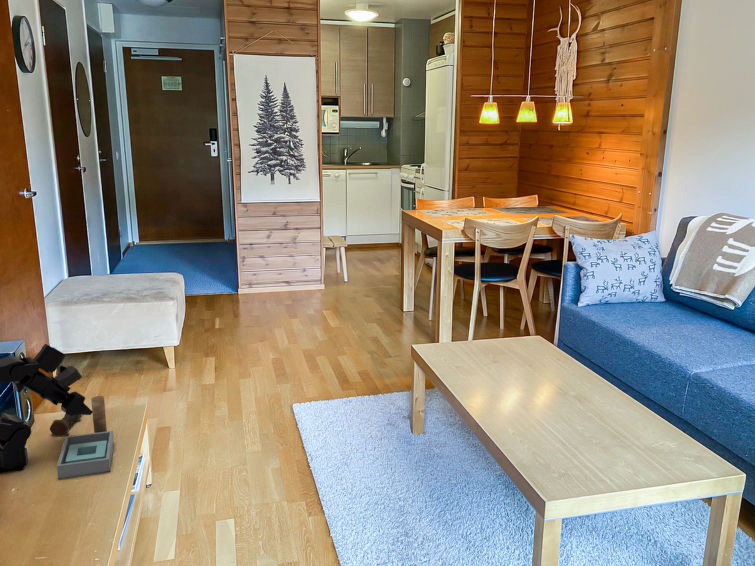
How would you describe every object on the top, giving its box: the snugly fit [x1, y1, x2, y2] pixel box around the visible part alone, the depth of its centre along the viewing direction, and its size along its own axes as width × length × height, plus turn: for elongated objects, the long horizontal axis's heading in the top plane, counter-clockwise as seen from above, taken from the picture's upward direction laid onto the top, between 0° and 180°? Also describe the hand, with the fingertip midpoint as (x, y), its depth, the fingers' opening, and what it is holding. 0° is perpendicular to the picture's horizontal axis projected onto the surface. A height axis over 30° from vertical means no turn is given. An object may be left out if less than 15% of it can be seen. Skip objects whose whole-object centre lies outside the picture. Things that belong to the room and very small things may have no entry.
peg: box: [90, 395, 108, 433], centre depth 191 cm, size 4×4×13 cm
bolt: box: [49, 413, 82, 437], centre depth 199 cm, size 6×5×15 cm
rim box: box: [56, 430, 115, 480], centre depth 178 cm, size 13×18×4 cm
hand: (84, 408), depth 187 cm, fingers open, 9 cm apart
